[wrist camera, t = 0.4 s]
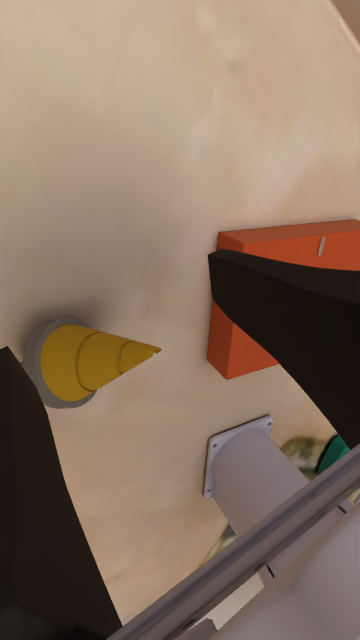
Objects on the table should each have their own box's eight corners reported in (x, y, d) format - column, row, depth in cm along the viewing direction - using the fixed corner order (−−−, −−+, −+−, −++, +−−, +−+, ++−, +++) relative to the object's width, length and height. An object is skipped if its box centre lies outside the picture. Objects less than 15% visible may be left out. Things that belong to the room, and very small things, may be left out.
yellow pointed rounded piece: (-10, 323, 20) (124, 290, 16) (61, 329, 25) (180, 305, 20) (-9, 416, 20) (133, 409, 15) (64, 404, 24) (189, 396, 20)
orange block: (354, 219, 30) (387, 227, 28) (324, 328, 35) (350, 343, 33) (218, 232, 24) (245, 244, 22) (206, 360, 30) (227, 381, 27)
